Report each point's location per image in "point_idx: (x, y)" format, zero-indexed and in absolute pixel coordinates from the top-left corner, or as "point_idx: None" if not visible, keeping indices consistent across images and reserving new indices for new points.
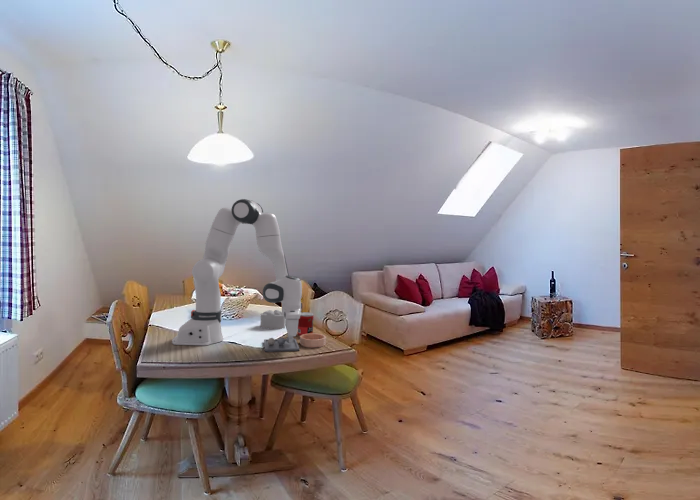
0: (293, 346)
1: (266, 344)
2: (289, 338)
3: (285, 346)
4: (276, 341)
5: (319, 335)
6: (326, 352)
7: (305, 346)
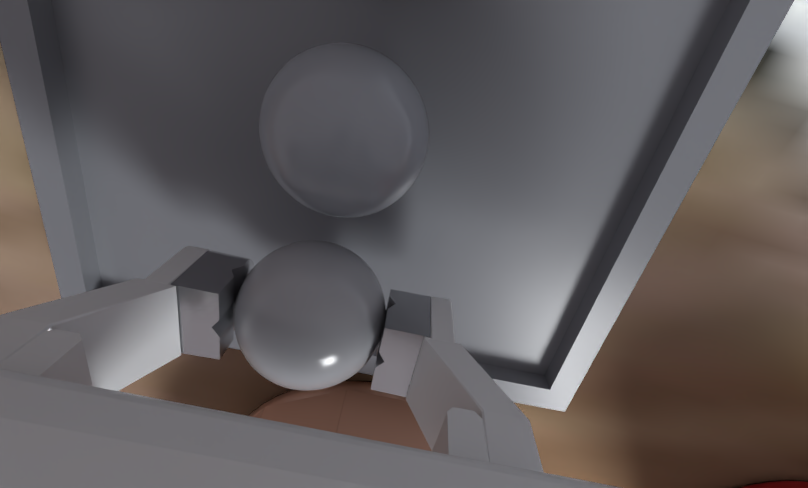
0: None
1: None
2: (122, 296)
3: (254, 170)
4: (631, 101)
5: None
6: None
7: (267, 403)
